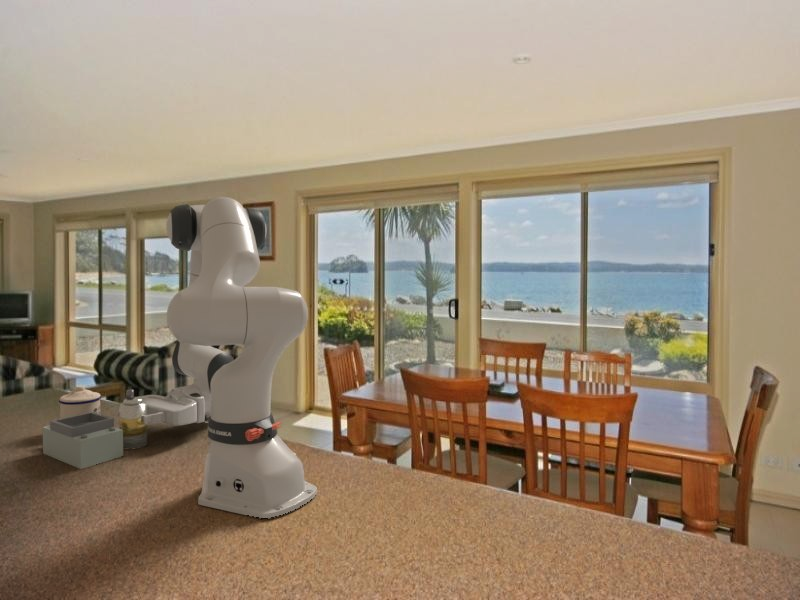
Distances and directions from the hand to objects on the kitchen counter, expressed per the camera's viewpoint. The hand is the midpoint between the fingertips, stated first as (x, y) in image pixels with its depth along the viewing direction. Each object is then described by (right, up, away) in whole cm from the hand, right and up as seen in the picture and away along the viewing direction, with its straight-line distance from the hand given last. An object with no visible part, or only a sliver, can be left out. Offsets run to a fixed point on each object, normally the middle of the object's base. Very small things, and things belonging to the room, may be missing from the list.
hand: (130, 416), depth 123 cm
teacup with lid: (-18, -6, +11) cm, 22 cm away
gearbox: (-9, -7, -5) cm, 13 cm away
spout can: (0, -7, +1) cm, 7 cm away
